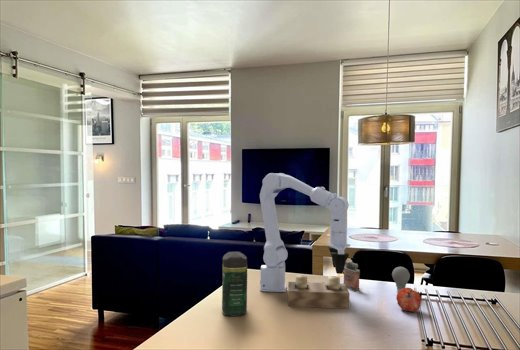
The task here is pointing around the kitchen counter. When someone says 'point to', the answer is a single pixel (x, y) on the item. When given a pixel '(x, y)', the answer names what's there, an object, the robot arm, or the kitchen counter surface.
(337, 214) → the robot arm
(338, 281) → the right peg
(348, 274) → the red ornate tin
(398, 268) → the light bulb
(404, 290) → the pomegranate
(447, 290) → the kitchen counter surface
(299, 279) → the left peg
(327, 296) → the wooden block with recesses
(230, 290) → the coffee jar
